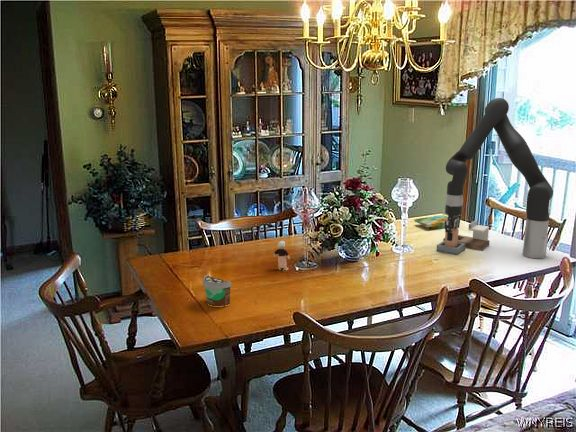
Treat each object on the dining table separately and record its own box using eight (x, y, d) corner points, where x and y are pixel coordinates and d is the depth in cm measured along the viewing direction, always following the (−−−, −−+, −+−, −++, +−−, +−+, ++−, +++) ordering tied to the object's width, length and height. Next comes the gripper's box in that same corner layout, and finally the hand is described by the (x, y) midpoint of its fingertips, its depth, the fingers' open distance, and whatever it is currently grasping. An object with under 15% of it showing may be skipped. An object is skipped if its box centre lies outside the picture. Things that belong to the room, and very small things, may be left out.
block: (457, 245, 260) (458, 229, 258) (453, 248, 257) (455, 231, 254) (448, 243, 263) (449, 227, 261) (444, 246, 259) (445, 229, 257)
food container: (196, 303, 204) (195, 278, 202) (208, 298, 209) (207, 273, 206) (220, 312, 197) (219, 286, 194) (232, 306, 202) (231, 280, 199)
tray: (465, 249, 261) (465, 243, 260) (457, 255, 253) (457, 249, 253) (444, 245, 267) (445, 239, 266) (436, 251, 259) (436, 245, 258)
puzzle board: (489, 245, 267) (489, 240, 266) (482, 250, 259) (482, 245, 259) (451, 238, 278) (451, 233, 277) (443, 243, 270) (443, 238, 270)
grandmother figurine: (291, 268, 239) (291, 240, 236) (289, 271, 236) (289, 243, 232) (274, 266, 241) (274, 239, 238) (272, 269, 238) (271, 241, 234)
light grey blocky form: (487, 240, 266) (489, 222, 263) (482, 244, 260) (483, 226, 257) (473, 237, 270) (474, 220, 267) (467, 241, 264) (468, 224, 261)
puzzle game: (458, 218, 297) (427, 223, 290) (457, 227, 298) (426, 231, 291) (444, 213, 308) (414, 217, 300) (444, 221, 309) (413, 226, 301)
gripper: (452, 199, 262) (449, 234, 266) (440, 205, 251) (437, 241, 255) (467, 201, 257) (465, 236, 262) (456, 208, 247) (453, 244, 251)
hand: (451, 239), depth 259 cm, fingers closed on block, 4 cm apart
